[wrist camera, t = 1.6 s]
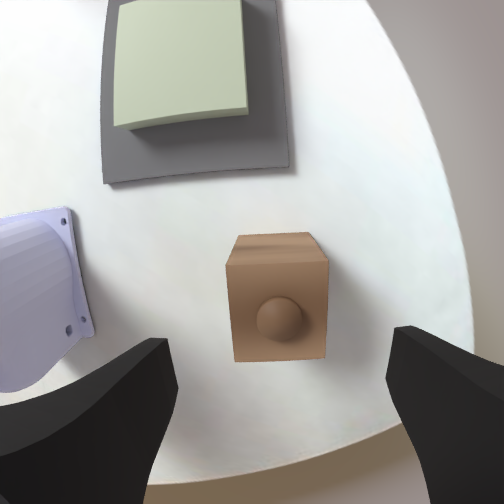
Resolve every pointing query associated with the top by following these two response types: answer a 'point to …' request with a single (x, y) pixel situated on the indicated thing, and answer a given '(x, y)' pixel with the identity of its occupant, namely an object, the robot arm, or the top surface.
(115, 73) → the base block
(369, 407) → the top surface
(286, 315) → the walnut snap block
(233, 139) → the build mat
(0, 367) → the robot arm
